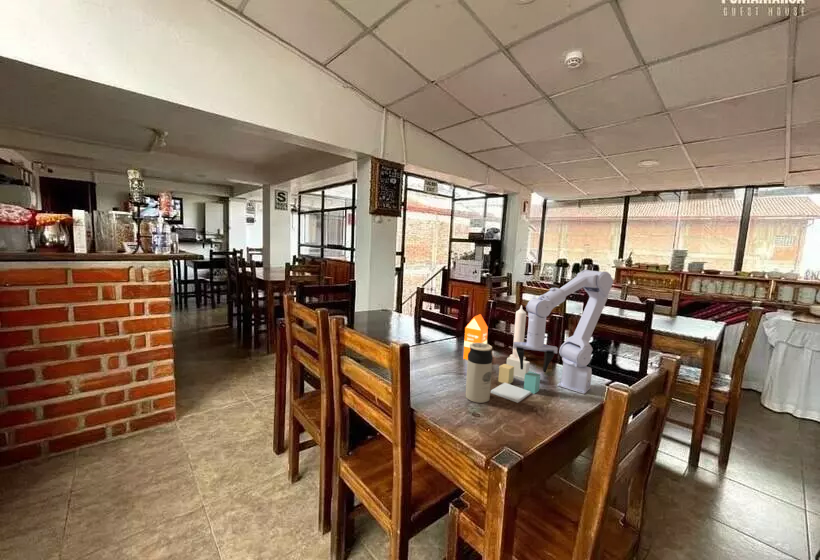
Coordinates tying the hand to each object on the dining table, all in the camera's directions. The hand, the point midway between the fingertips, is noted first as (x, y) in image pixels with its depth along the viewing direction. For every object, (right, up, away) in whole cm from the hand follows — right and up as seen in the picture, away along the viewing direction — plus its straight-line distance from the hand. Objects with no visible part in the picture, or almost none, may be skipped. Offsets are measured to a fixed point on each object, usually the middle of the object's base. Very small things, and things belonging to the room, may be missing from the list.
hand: (532, 369), depth 116 cm
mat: (-9, -8, -2) cm, 12 cm away
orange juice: (-14, -4, +32) cm, 35 cm away
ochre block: (-8, -7, +8) cm, 13 cm away
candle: (+6, -4, +35) cm, 36 cm away
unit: (-1, -6, +13) cm, 14 cm away
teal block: (0, -8, +1) cm, 8 cm away
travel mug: (-21, -8, -7) cm, 24 cm away
